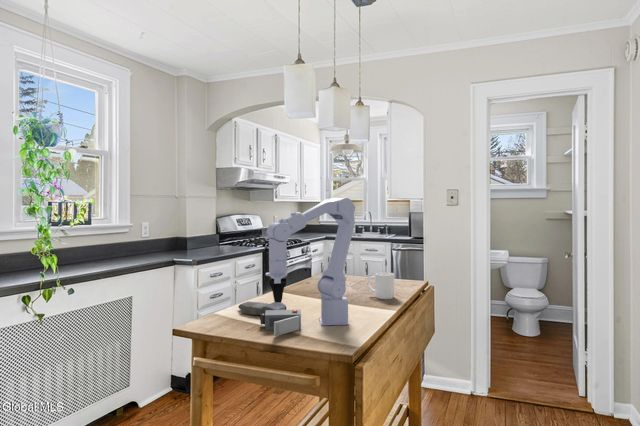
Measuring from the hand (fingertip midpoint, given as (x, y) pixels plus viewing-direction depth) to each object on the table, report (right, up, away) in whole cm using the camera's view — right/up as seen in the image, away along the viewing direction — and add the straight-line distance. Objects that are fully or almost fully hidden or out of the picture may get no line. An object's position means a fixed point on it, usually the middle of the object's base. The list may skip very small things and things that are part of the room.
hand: (278, 300), depth 142 cm
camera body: (+1, -10, +6) cm, 12 cm away
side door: (+3, -10, -1) cm, 11 cm away
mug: (+40, -8, +48) cm, 63 cm away
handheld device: (-9, -10, +22) cm, 26 cm away
